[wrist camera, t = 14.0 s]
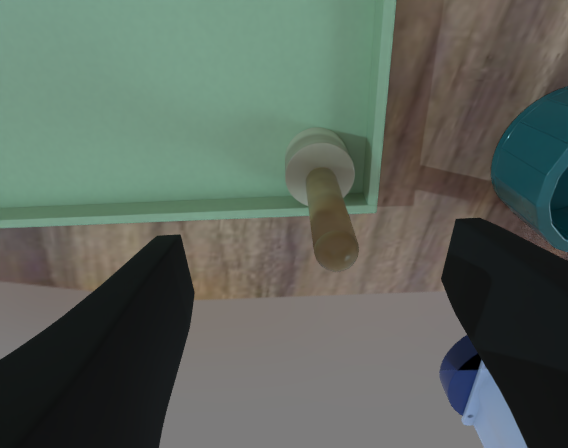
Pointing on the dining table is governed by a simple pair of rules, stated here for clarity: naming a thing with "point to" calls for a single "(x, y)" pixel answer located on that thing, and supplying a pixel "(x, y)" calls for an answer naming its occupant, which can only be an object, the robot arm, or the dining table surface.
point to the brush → (324, 193)
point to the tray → (183, 105)
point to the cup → (537, 167)
